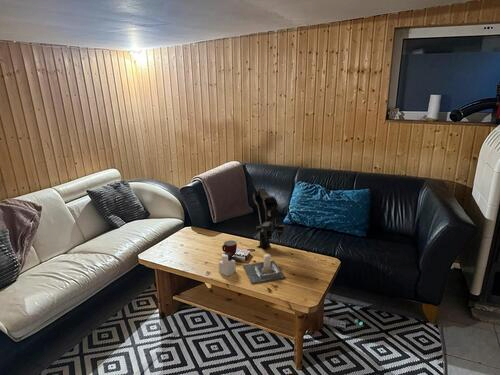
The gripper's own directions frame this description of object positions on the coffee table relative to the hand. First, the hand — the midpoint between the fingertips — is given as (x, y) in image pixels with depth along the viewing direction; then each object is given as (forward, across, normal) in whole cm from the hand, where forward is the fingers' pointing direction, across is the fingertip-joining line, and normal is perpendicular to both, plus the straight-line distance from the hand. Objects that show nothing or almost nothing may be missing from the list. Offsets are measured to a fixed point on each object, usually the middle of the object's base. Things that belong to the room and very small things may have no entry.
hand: (272, 241), depth 203 cm
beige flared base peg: (+14, +2, -14) cm, 20 cm away
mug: (+9, -28, -8) cm, 31 cm away
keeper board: (+15, 0, -14) cm, 21 cm away
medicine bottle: (+14, -19, -24) cm, 34 cm away
